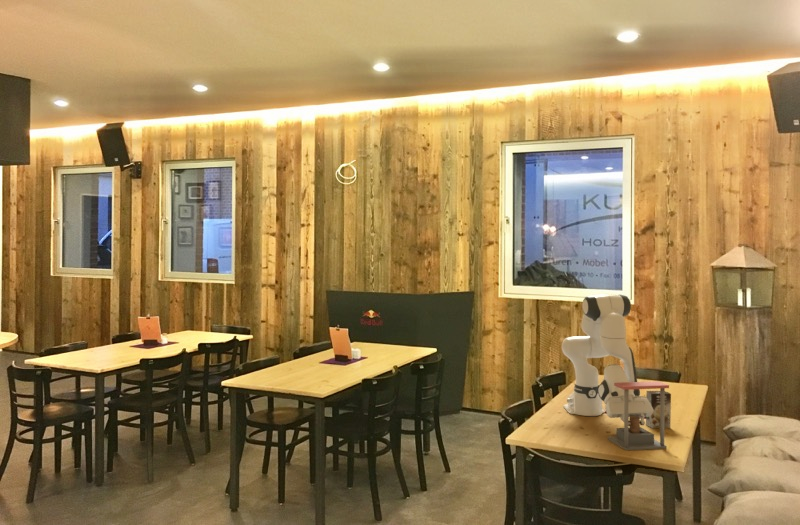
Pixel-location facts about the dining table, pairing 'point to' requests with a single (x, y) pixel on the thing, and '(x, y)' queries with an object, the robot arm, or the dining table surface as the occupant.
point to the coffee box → (658, 409)
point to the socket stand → (644, 437)
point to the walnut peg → (635, 424)
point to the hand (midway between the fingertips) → (635, 424)
